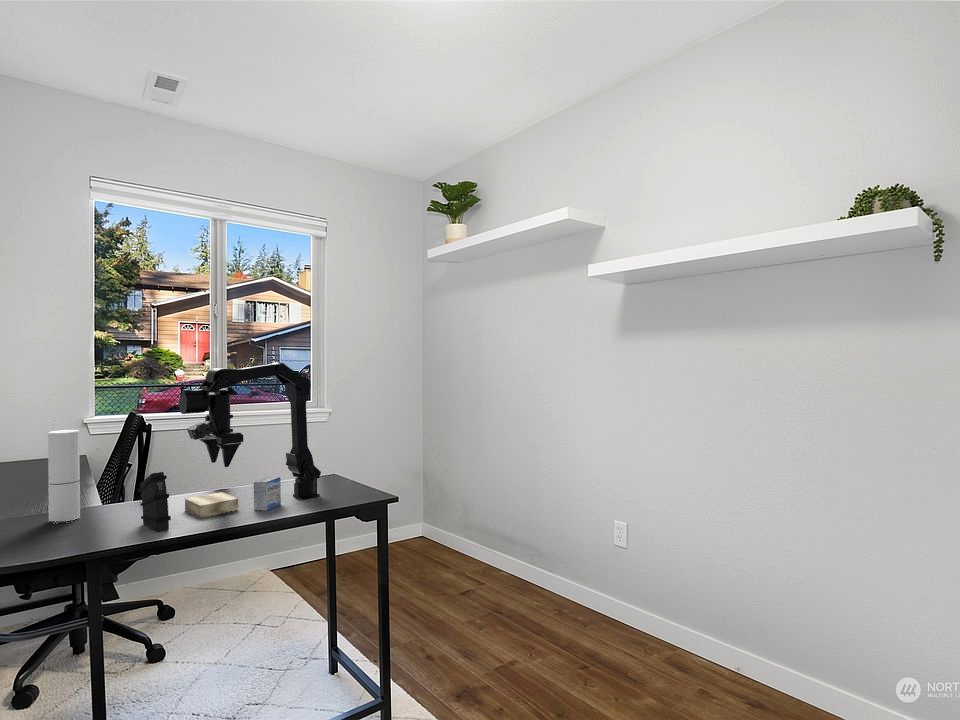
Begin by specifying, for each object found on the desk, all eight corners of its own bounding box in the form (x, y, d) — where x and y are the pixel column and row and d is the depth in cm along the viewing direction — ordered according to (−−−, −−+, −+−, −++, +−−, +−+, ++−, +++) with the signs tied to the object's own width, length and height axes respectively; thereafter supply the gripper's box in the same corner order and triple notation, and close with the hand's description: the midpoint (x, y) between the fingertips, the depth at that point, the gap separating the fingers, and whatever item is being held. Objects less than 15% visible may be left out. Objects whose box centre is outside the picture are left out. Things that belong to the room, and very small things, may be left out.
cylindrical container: (77, 514, 166) (76, 428, 166) (82, 519, 161) (81, 431, 161) (46, 519, 161) (46, 431, 161) (51, 525, 156) (50, 434, 156)
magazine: (159, 529, 147) (150, 473, 151) (144, 540, 155) (135, 487, 159) (175, 525, 150) (165, 471, 154) (159, 537, 158) (150, 485, 162)
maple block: (222, 504, 178) (222, 492, 178) (238, 511, 171) (238, 498, 171) (185, 512, 170) (185, 498, 170) (200, 519, 163) (200, 505, 163)
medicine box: (266, 511, 170) (266, 482, 170) (253, 510, 171) (253, 481, 171) (281, 504, 178) (281, 476, 177) (268, 503, 178) (268, 476, 178)
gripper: (178, 411, 167) (178, 464, 167) (203, 416, 154) (203, 473, 154) (217, 408, 175) (217, 459, 175) (244, 412, 162) (244, 467, 162)
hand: (220, 464), depth 166 cm, fingers open, 9 cm apart
